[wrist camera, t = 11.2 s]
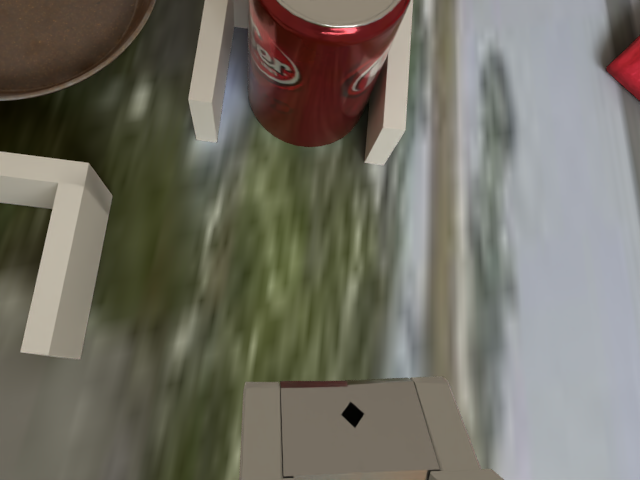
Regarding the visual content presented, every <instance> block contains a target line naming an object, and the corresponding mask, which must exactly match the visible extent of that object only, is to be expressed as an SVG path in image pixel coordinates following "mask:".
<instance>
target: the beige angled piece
mask: <svg viewBox="0 0 640 480" xmlns="http://www.w3.org/2000/svg"><path fill="white" fill-rule="evenodd" d="M412 8H413V0H411V1H410V4H409V6H408V8H407V11H406V13H405V16H404V18H403V20H402V23H401V25H400V27H399V30H398V32H397V34H396V37H395V39H394V41H393V44H392V46H391V48H390V51H389V53H388V55H387V58H386V60H385V62H384V65H383V67H382V69H381V72H380V74H379V76H378V79H377V81H376V83H375V86H374V88H373V90H372V93H371V95H370V98H369V110H368V123H367V136H366V149H365V162H364V163H370V164H377V165H384V164H385V162H386V161H387V159H388V157H389V156H390V154H391V153H392V151H393V149H394V148H395V146H396V145H397V143H398V141H399V140H400V138H401V137H402V135H403V133H404V132H405V127H406V110H407V93H408V76H409V59H410V42H411V25H412ZM234 27H239V28H245V29H248V0H205V3H204V9H203V15H202V21H201V27H200V33H199V39H198V45H197V51H196V57H195V63H194V68H193V74H192V80H191V86H190V92H189V98H188V101H189V105H190V110H191V115H192V120H193V125H194V130H195V134H196V139H197V140H201V141H208V142H215V143H217V139H218V132H219V126H220V119H221V112H222V106H223V99H224V92H225V86H226V79H227V73H228V66H229V59H230V53H231V46H232V40H233V33H234Z"/></svg>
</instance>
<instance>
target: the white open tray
mask: <svg viewBox="0 0 640 480" xmlns="http://www.w3.org/2000/svg"><path fill="white" fill-rule="evenodd" d="M111 201H112V194H111V193H110V191H109V190H108V189H107V187H106V186H105V184H104V183H103V182H102V180H101V179H100V178H99V176H98V175H97V173H96V172H95V171H94V169H93V168H92V166H91V165H90V164H89V163H85V162H78V161H70V160H62V159H55V158H47V157H39V156H32V155H24V154H16V153H8V152H1V151H0V203H8V204H16V205H24V206H32V207H41V208H49V209H52V214H51V218H50V222H49V227H48V231H47V236H46V240H45V245H44V249H43V254H42V258H41V263H40V267H39V272H38V276H37V280H36V285H35V289H34V294H33V298H32V303H31V307H30V312H29V316H28V321H27V325H26V329H25V334H24V338H23V343H22V347H21V352H22V353H30V354H37V355H44V356H51V357H59V358H69V359H81V354H82V348H83V343H84V338H85V333H86V328H87V323H88V318H89V313H90V308H91V303H92V298H93V293H94V288H95V283H96V277H97V272H98V267H99V262H100V257H101V252H102V247H103V242H104V237H105V232H106V227H107V222H108V217H109V211H110V206H111Z"/></svg>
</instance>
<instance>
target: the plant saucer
mask: <svg viewBox="0 0 640 480" xmlns="http://www.w3.org/2000/svg"><path fill="white" fill-rule="evenodd" d="M155 3H156V0H0V101H10V100H20V99H27V98H33V97H39V96H43V95H47V94H51V93H54V92H57V91H60V90H63V89H66V88H68V87H71V86H73V85H75V84H78V83H80V82H82V81H84V80H86V79H87V78H89V77H91V76H92V75H94V74H96V73H97V72H99V71H101V70H102V69H103V68H105V67H106V66H108V65H109V64H110V63H111V62H113V61H114V60H115V59H116V58H117V57H118V56H120V55H121V54H122V53H123V52H124V51H125V50H126V48H127V47H128V46H129V45H130V44H131V43H132V42H133V40H134V39H135V38H136V37H137V35H138V34H139V33H140V31H141V30H142V28H143V27H144V25H145V24H146V22H147V20H148V18H149V16H150V14H151V12H152V10H153V8H154V5H155Z"/></svg>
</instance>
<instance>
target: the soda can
mask: <svg viewBox="0 0 640 480" xmlns="http://www.w3.org/2000/svg"><path fill="white" fill-rule="evenodd" d="M410 1H411V0H248V97H249V102H250V105H251V108H252V111H253V113H254V115H255V116H256V118H257V120H258V121H259V122H260V124H261V125H262V126H263V127H264V128H265V129H266V130H267V131H268V132H270V133H271V134H272V135H273V136H275V137H277V138H278V139H280V140H282V141H284V142H287V143H290V144H293V145H296V146H304V147H317V146H323V145H327V144H331V143H333V142H335V141H337V140H339V139H341V138H343V137H344V136H345V135H347V134H348V133H349V132H350V131H351V130H352V129H353V128H354V127H355V126H356V124H357V123H358V121H359V119H360V118H361V116H362V114H363V112H364V109H365V107H366V104H367V102H368V100H369V97H370V95H371V93H372V90H373V88H374V86H375V83H376V81H377V79H378V76H379V74H380V72H381V69H382V67H383V65H384V62H385V60H386V58H387V55H388V53H389V51H390V48H391V46H392V44H393V41H394V39H395V37H396V34H397V32H398V30H399V27H400V25H401V23H402V20H403V18H404V16H405V13H406V11H407V8H408V6H409V4H410Z"/></svg>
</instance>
